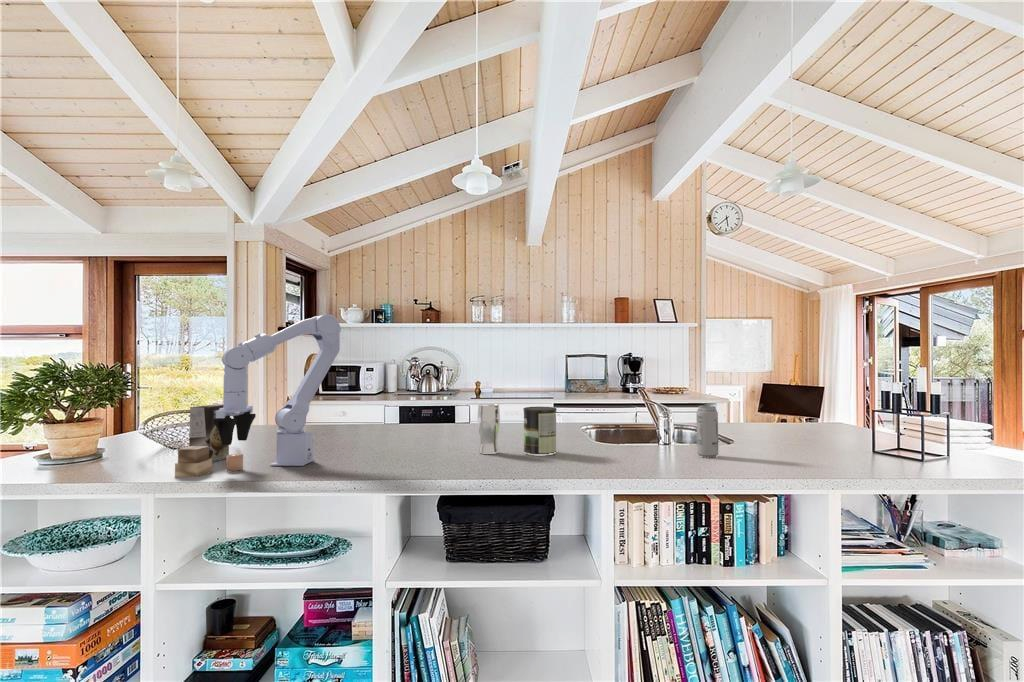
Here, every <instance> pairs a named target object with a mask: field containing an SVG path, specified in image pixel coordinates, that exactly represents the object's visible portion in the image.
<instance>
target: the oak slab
mask: <svg viewBox="0 0 1024 682" xmlns="http://www.w3.org/2000/svg"><path fill="white" fill-rule="evenodd" d="M211 471H212V472H213V462H212V459H209V460H206V461H202V462H199V463H178V462H175V463H174V477H196V478H197V477H200V476H203V475H206V474H209V473H211ZM208 472H209V473H208ZM205 473H206V474H205Z"/></svg>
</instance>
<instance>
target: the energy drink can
mask: <svg viewBox="0 0 1024 682" xmlns="http://www.w3.org/2000/svg"><path fill="white" fill-rule="evenodd" d="M696 454H697V455H698V457H699V456H702V457H716V456H718V455H719V412H718V411H717V408H716V405H698V408H697V410H696ZM702 457H701V458H702ZM716 458H717V457H716Z"/></svg>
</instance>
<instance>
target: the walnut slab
mask: <svg viewBox="0 0 1024 682" xmlns="http://www.w3.org/2000/svg"><path fill="white" fill-rule="evenodd" d="M206 460H209V446H190V447H189V446H185V447H183V448H178V449H177V463H199V462H202V461H206Z"/></svg>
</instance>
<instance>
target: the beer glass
mask: <svg viewBox="0 0 1024 682" xmlns="http://www.w3.org/2000/svg"><path fill="white" fill-rule="evenodd" d="M477 408H478V409H477V427H478V432H479V439H480V440H479V441H480V443H479V444H480V445H479V449H478V450H479V451H478V453H479V452H482V453H492V452H497V451H499V446H498V445H499V444H498V438H499V432H500V431H499V430H500V423H501V415H500V404H496V403H495V404H493V403H484V404H478V406H477Z"/></svg>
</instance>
